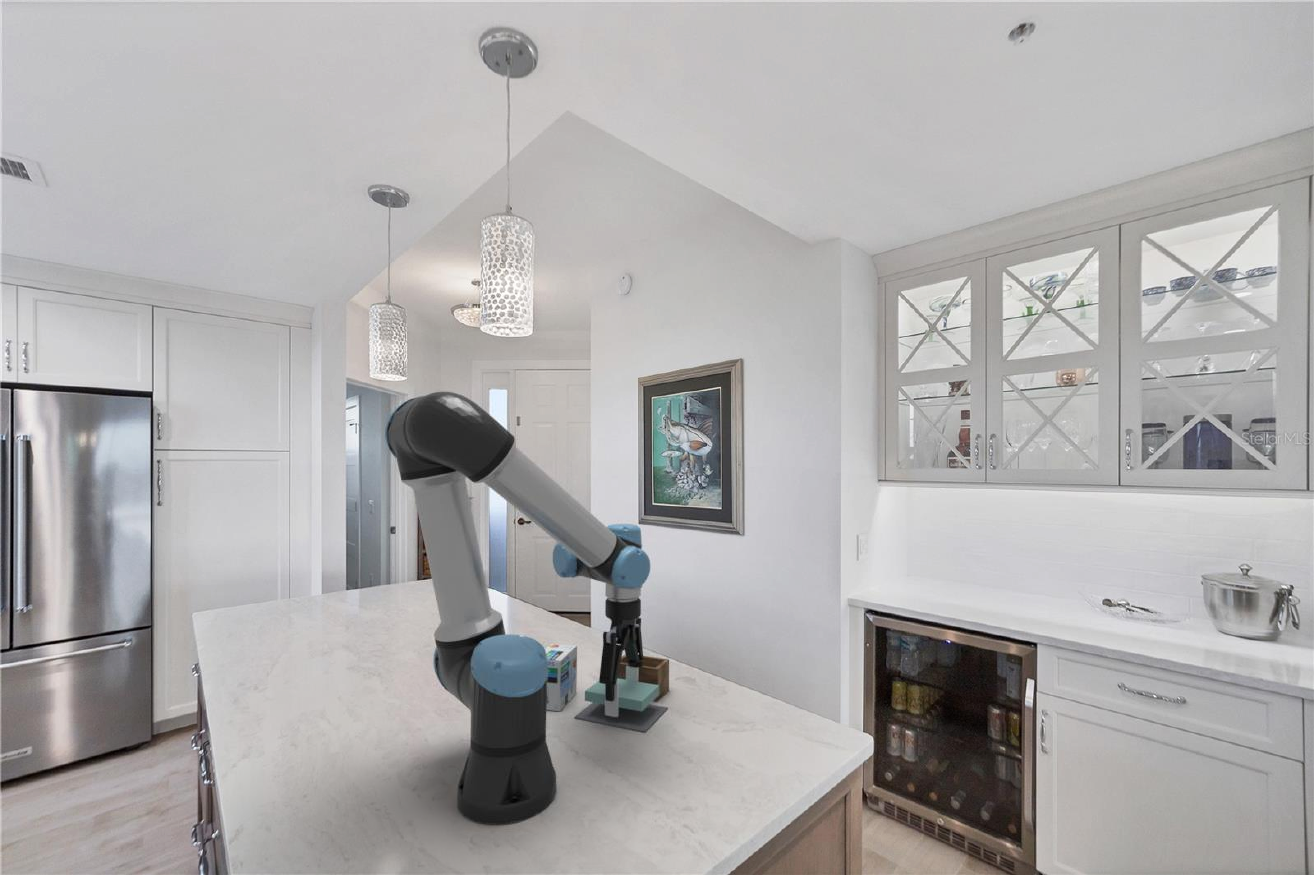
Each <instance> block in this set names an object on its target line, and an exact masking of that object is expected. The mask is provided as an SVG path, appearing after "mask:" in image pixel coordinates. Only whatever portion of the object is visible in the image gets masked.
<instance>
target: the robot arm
mask: <svg viewBox="0 0 1314 875" xmlns="http://www.w3.org/2000/svg"><path fill="white" fill-rule="evenodd" d="M384 437H385V443H386V445H387V448H388V449H389V451H390V452H391V455H393V456H394V458H396V462H397V466H398V471H399V477H400V480H401V481H400V482H401V483H403V484H405V486H408V487H410V489H412V491H413V495H414V500H415V504H416V510H417V514H418V519H419V523H420V529H421V532H422V534H421V535H422V538H423V542H424V547H425V552H426V557H427V561H428V566H429V567H428V568H429V571H430V576H431V581H432V585H433V590H434V594H435V595H434V596H435V600H436V604H437V608H438V609H437V611H438V615H439V619H440V623H439V625H438V626H437V628H436V630H434V633H433V637H434V641H435V646H436V647H435V650H434V654H433V670H434V673H435V675H436V678H437V680H438V681H439V683H440V685H441V686H442V687H443V688H444V689H445V690H446V692H448V693H450V694H451V695H452V696H453V697H455V698H456V699H457V700H458V701H459V702H460V703H462V705H464V706H465V707H466V708H467V709H468V710H469V711H470V740H469V741H470V742H469V743H470V745H469V752H468V755H467V758H466V759H465V763H464V766H463V770H462V773H461V775H460V779H459V782H458V784H457V791H456V800H457V801H456V806H457V809H458V810H459V813H461V815H462V816H464V817H465V818H467V819H468V820H471V821H473V822H476V823H481V824H485V825H486V824H487V825H488V824H489V825H502V824H511V823H515V822H519V821H522V820H526V819H528V818H531V817H533V816H535V815H537V814H538V813H540V812H542V811H543V810H545V809H546V808H547V807H548V806H549V805H550V804H551V803H552V802H553V801H554V799H555V797H556V793H557V774H556V773H557V772H556V770H555V767H554V765H553V762H552V757H551V754H550V750H549V747H548V745H547V744H548V743H547V710H546V708H547V677H548V665H547V656H546V651H545V647H544V646H543V644H541V642H539V641H538V640H536V639H534V638H533V637H529V636H520V634H506V629H505V624H504V619H503V616H502V615H503V614H502V613H501V612H500V611H498V610H496V609H494V608H493V607H492V606H491V601H490V596H489V591H488V585H487V581H486V576H485V570H484V564H483V560H482V556H481V551H480V550H481V549H480V546H479V541H478V537H477V530H476V525H475V520H474V516H473V515H474V514H473V511H472V506H471V505H472V504H471V501H470V500H471V499H470V495H469V491H468V487H467V486H468V485H467V481H466V478H467V479H468V480H470V481H471V482H472V483H473V484H479V483H480V484H481V483H484V484H485V485H487V486H488V487H489V488H490V489H491V490H493V491H494V492H495V493H496V494H498V495H499V496H500V497H502V499H503V500H505V501H507V502H508V503H509V504H510V505H511V506H512V507H514V508H515V509H516V510H518V511H519V512H520V513H521V514H523V516H525V517H526V518H527V519H529V520H530V521H531V522H532V523H534V524H535V525H536V526H538V527H539V528H540V529H541V530H542V531H544V532H545V533H546V534H547V535H549V536H550V538H552V539H553V540H555V541H556V542H557V543H556V544H555V545H554V547H553V550H552V566H553V568H554V571H555V573H556V574H557V575H558V577H561V578H563V579H564V578H571V579H574V578H577V577H583V578H587V579H591V580H593V581H597V582H600V583H601V582H602V583H605V595H604V596H605V597H606V599H605V604H604V605H605V606H604V607H605V613H604V614H605V617H606V618H607V619H609V620H610V622H611V623H610V630H609V631H603V634H602V639H603V640H602V651H601V652H602V653H601V660H600V662H601V663H600V671H599V679H598V681H599V683H602V684H605V715H607V716H612V717H618V716H619V683H616V682H617V677H618V672H619V667H620V662H621V657H622V656H623V653H624V652H625V654H626V658H627V662H628V665H630V666H627V667H626V680H630V681H636V682H638V677H639V668H638V666H639V667H642V666H643V662H640V661H643V656H644V649H643V640H642V630H641V628H642V618H641V617H640V616H642V615H641V614H642V607H641V606H642V600H641V598H640V597H641V596H642V593H641V592H642V589H643V585H644V584H645V583H646V581H647V580H648V578H649V576H650V572H651V562H650V561H651V560H650V557H649V555H648V554H647V553H646V552H645V551H644V550H643V549H642V548H643V543H642V531H641V528H640V527H639V525H636V524H632V523H615V524H614V523H613V524H609V525H607V526H606V525H605V524H604V523H603V522H602V521H601V520H599V519H598V518H597V517H596V516H594V514H593V513H591V511H589V510H588V509H587V508H586V507H584V506H583V505H582V504H581V503H580V502H579V501H577V499H576V498H574V497H573V496H572V495H571V494H570V493H569V492H568V491H566V489H564V488H563V487H562V486H561V485H560V484H558V483H557V481H555V479H553V478H552V477H550V475H548V474H547V473H546V472H545V471H544V470H543V469H541V467H540V466H539V465H537V464H536V463H535V462H534V461H532V459H530V458H529V457H528V456H527V455H526V454H524V452H523V451H521V450H520V448H518V447H517V439H516V437H515V436H514V435H513V434H512V433H511V432H510V431H508V430H507V428H505V427H504V426H503V425H502V424H500V422H499V421H497V420H496V419H495V418H494V417H493V416H492V415H491V414H489V413H488V412H487V411H486V410H485V409H484V408H482V406H479V405H478V404H477V403H476V402H474V401H473V400H471V399H470V398H468V397H466V396H464V395H462V394H459V393H456V392H453V391H452V392H451V391H437V392H436V391H435V392H432V393H431V392H430V393H429V394H426V395H422V396H417V397H411V398H409V399H408V400H406V401H404V402H402V403H401V404H400V405H399V406H397V407H396V408H395V409H394V410H393V411H392V413H391V414H390V415H389V417H388V419H387V421H386V424H385V428H384ZM625 654H624V655H625Z"/></svg>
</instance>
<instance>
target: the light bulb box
mask: <svg viewBox="0 0 1314 875" xmlns="http://www.w3.org/2000/svg"><path fill="white" fill-rule="evenodd" d="M544 649H545V651H546V656H547V665H548V677H547V708H546V711H553V712H561V711H562V710H563V709H564V708H565V707H566V706H567V704H568V703H570V701H571V700H573V698H574V697H575V696H576V695H577V689H578V688H577V687H578V686H577V678H578V675H577V672H578V670H577V669H578V646H577V645H568V644H567V645H566V644H556V643H550V644H549V645H548V646H547V647H544Z"/></svg>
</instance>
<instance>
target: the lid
mask: <svg viewBox="0 0 1314 875" xmlns="http://www.w3.org/2000/svg"><path fill="white" fill-rule="evenodd" d="M616 683H619V707H620V708H626V709H631V710H636V711H643V710H644V709H645V708H646V707H647V706H648V705H649V704H652V703H653V702H654V701H653V700H654V699H655V698H656V697H657V696H659V685H654V684H648V683H642V682H636V681H630V680H624V679H618V678H617V682H616ZM584 702H587V703H588V702H590V703H593V702H594V703H599V704H604V705H605V684H602V683H599V680H598V681H596V682H595V683H593V684H592V685H591V686H590V687H588V688H587V689H585V691H584Z"/></svg>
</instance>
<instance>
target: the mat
mask: <svg viewBox="0 0 1314 875" xmlns="http://www.w3.org/2000/svg"><path fill="white" fill-rule="evenodd" d="M668 709H669V707H668V706H663V705H658V704H652V703H650V704H649V705H648V706H647V707H646V708H645V709H644V710H643V711H636V710H631V709H626V708H620V707H619V716H618V717H612V716H607V715H605V705H604V704H599V703H594V702H590V704H589V705H588V706H586V707H585V708H583V709H582V710H581V711H580V712H579V713H578V714H576V715H575V716H574V717H573V718H574V719H575V720H580V721H586V722H591V723H594V724H595V723H596V724H601V725H606V726H610V727H614V728H621V729H626V730H630V731H636V732H640V733H645V734H646V733H647V732H648V730H650V729H651V728H652V727H653V726H654V725H655V723H656V722H658V720H659V719H660V718H661V717H662V716H663V715H664V713H665V712H667V711H668Z"/></svg>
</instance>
